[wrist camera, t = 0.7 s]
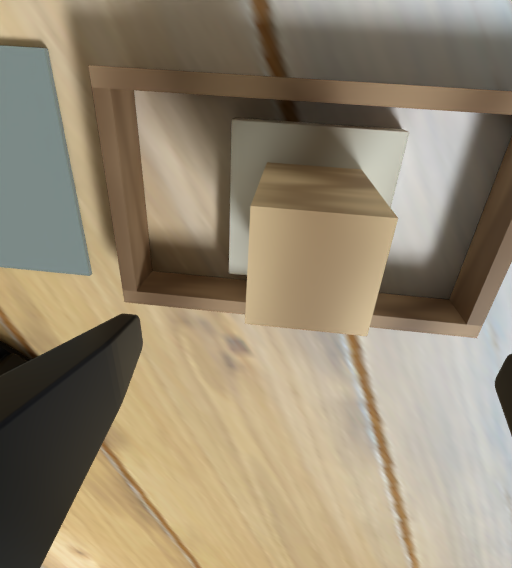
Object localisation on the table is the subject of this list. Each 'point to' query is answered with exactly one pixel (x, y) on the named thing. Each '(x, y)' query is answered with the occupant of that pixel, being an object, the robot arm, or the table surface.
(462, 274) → the port box
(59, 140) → the mat
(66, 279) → the table surface
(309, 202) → the oak block
